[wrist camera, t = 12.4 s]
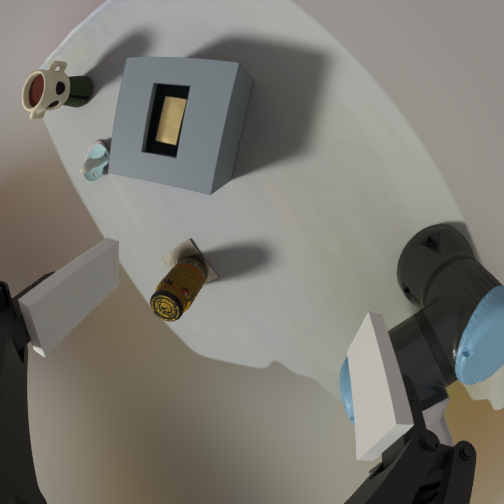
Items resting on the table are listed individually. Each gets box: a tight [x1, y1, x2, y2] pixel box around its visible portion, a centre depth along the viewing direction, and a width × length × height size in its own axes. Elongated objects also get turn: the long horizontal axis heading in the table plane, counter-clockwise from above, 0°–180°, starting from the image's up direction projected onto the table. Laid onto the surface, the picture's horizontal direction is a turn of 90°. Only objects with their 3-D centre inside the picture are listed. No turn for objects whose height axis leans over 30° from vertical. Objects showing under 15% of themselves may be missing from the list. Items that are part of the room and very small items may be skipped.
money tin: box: [108, 57, 254, 195], centre depth 35 cm, size 15×16×11 cm
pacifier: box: [80, 141, 110, 181], centre depth 42 cm, size 7×6×6 cm
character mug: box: [22, 61, 92, 119], centre depth 34 cm, size 11×7×13 cm, turn 142°
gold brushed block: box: [156, 96, 187, 145], centre depth 35 cm, size 3×6×8 cm, turn 165°
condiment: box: [150, 239, 218, 321], centre depth 45 cm, size 7×8×12 cm
